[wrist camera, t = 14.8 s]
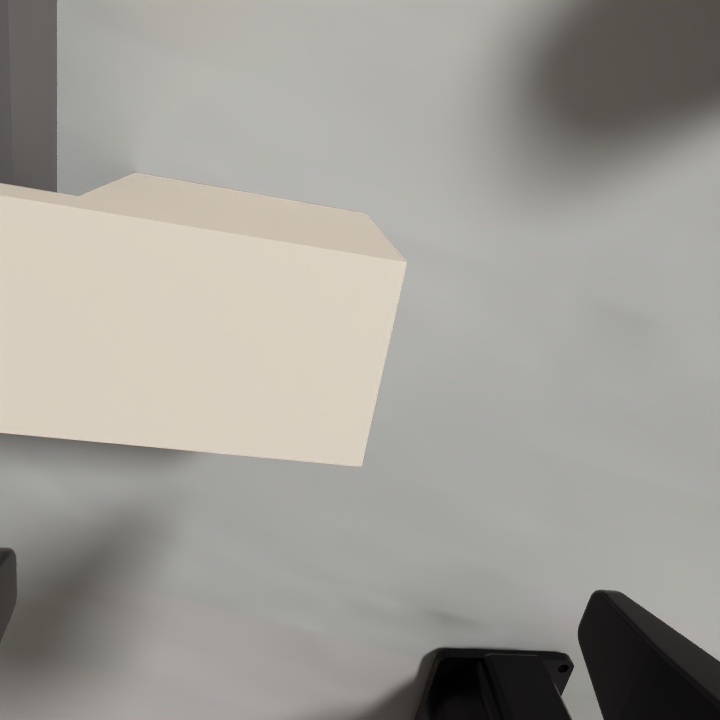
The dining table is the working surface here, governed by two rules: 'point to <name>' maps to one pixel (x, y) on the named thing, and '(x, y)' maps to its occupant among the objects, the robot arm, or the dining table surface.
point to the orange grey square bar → (28, 93)
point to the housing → (193, 319)
